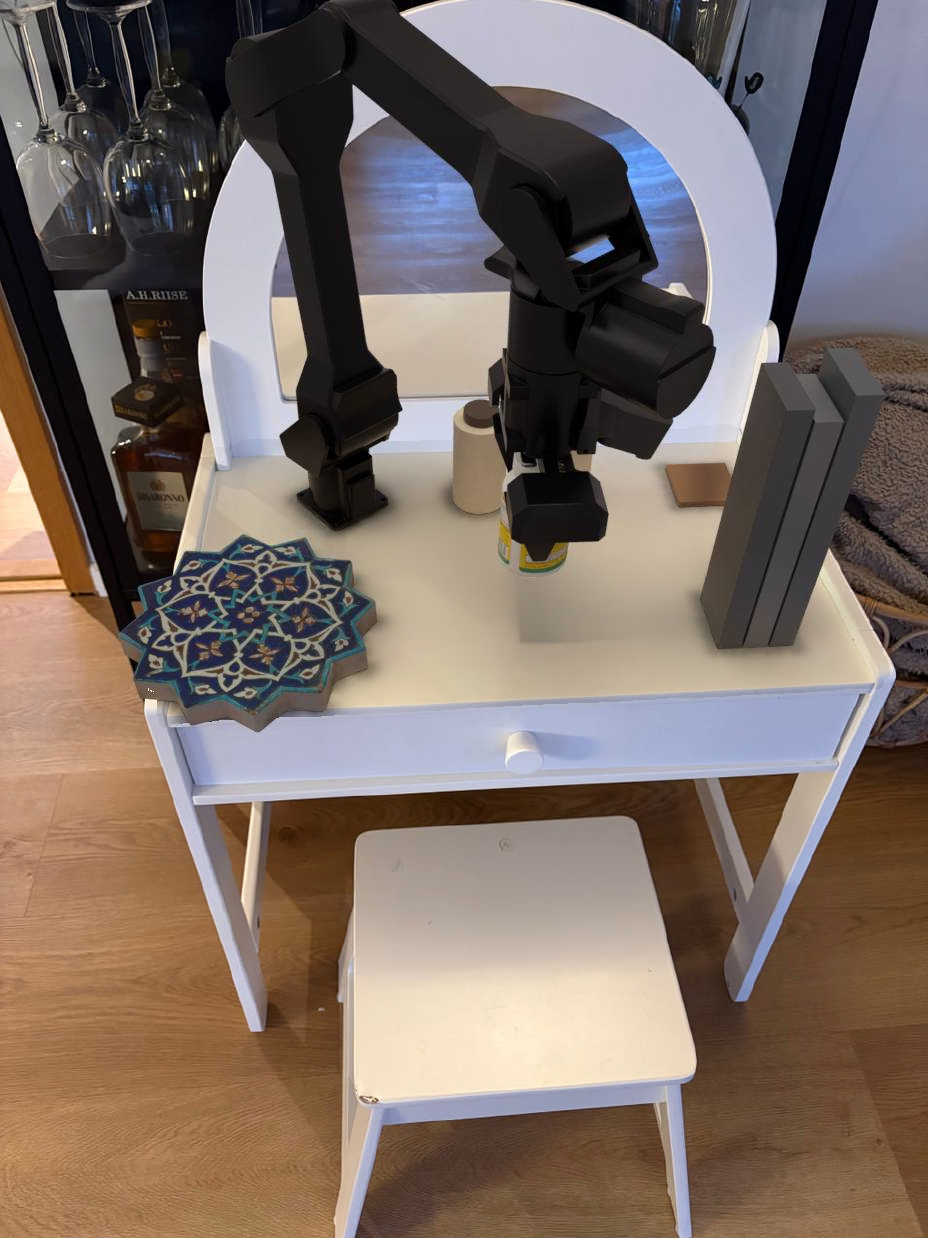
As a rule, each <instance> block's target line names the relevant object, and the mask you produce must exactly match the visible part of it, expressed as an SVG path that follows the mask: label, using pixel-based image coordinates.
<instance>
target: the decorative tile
mask: <svg viewBox="0 0 928 1238" xmlns="http://www.w3.org/2000/svg"><path fill="white" fill-rule="evenodd" d="M354 583H355V578H354V569H353V561H352V560H349V559H341V558H339V559H338V558H329V557H317V556H316V553H315V552H314V550H313V547H312V546H311V544H310V542H309V540H308V538H307V537H301V538H297V539H293V540H289V541H284V542H281V543H277V544H274V545H273V544H272V545H269V544H267V543H265V542H263V541H261V540H258V539H256V538H254V537H252V536H249V535H247V534H245V533H243V534H241V535H239V536H238V537H236V538H235V539H234V540H233V541H231V542H230V543H229V544H228V545H226V546H225V547H223V548H222V549H221V550H219V551H206V550H205V551H203V550H185V551H183V553H182V555H181V557H180V560H179V562H178V565H177V566H176V568H175V571H174V573H173V575H170V576H168V577H163V578H161V579H157V580H154V581H151V582H148V583H144V584H142V585H139V586H138V587H137V591H138V594H139V597H140V602H141V604H142V605H141V606H142V607H143V612H142V613H140V614H139V615H138V616H137V617H136V618H135V619H133V620H132V621H131V622H130V623H129V624H128V625H127V626H125V627H124V628H123V629H121V631H119V632H118V634H117V637H118V640H119V643H120V646H121V648H122V651H123V654H124V656H126V657H128V658H130V660H133V661H134V662H136V663H137V666H136V669H135V671H134V674H133V676H132V680H133V683H134V686H135V689H136V691H137V694H138V696H139V699H142V700H153V701H162V702H163V701H164V702H173V703H174V702H175V703H177V704H178V706H179V707H180V710H181V712H182V714H183V715H184V717H185V719H186V721H187V723H188V725H189V726H191V727H194V726H198V725H201V724H206V723H209V722H212V721H216V720H219V719H223V718H229V719H230V720H233V721H235V722H236V723H238V724H240V725H242V726H243V727H246V728H248V729H249V730H251V731H253V732H254V733H261V732H262V731H264V730H265V729H266V728H267V727H268V726H269V725H271V724H273V722H274V721H275V720H277V719H278V718H279V717H280V716H281V715H282V714H284V713H285V712H286V711H289V710H291V711H293V710H294V711H313V712H324V711H325V710H327V707H328V704H329V701H330V698H331V695H332V692H333V689H334V687H335V683H336V681H338V680H340V679H342V678H345V677H347V676H350V675H352V674H354V673H357V672H360V671H362V670H365V669H367V668H368V667H369V664H368V653H367V646H366V644H365V642H364V641H363V638H362V637H363V636H364V634H366V633H367V632H368V631H369V630H370V629H371V627H372V626H374V625H375V624H376V623H377V621H378V617H377V616H378V614H377V603H376V600H375V599H374V598H372V597H370V596H368V595H367V594H364V593H362V592H360V591H358V590H356V589H355V588H354ZM148 688H149V691H148ZM150 690H152V692H151V691H150ZM153 691H154V692H153Z"/></svg>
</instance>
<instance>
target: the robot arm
mask: <svg viewBox="0 0 928 1238" xmlns="http://www.w3.org/2000/svg"><path fill="white" fill-rule="evenodd" d="M224 78H225V79H224V80H225V88H226V91H227V94H228V97H229V99H230V101H231V103H232V105H233V109H234V111H235V115H236V118H237V122H238V126H239V129H240V133H241V134H242V135H241V136H242V137H243V138H244V140H245V141H246V142H247V143H248V144H249V146H250V147H251V148H252V149H253V151H254V152H255V153H256V154H257V156H259V158H260V159H261V160H262V162H264V164H265V166H267V167H268V169H269V170H270V172H271V175H272V180H273V185H274V188H275V194H276V198H277V204H278V209H279V214H280V220H281V225H282V231H283V236H284V241H285V245H286V251H287V256H288V261H289V265H290V272H291V277H292V283H293V286H294V291H295V297H296V301H297V302H296V303H297V306H298V312H299V317H300V324H301V326H302V331H303V332H302V333H303V337H304V343H305V348H306V359H305V361H304V364H303V367H302V370H301V372H300V376H299V379H298V382H297V384H296V387H295V399H296V409H297V420H296V421H294V422H293V423H292V424H291V425H289V427H287V428H286V429H284V430H283V431H282V432H281V433H279V435H278V436H279V440H280V443H281V446H282V449H283V451H284V454H285V457H286V458H287V459H289V460H291V461H292V462H293V463H295V464H296V465H298V466H300V468H302V469H304V470H305V471H307V478H308V485H309V487H307V488H305V489H303V490H301V491H299V492H297V493H296V500H297V501H298V502H299V503H300V504H301V505H302V506H304V507H305V508H306V509H307V510H308V511H309V512H311V513H312V514H313V515H315V517H317V519H319V520H320V521H321V522H322V523H324V524H325V525H326V526H327V527H328V528H329V529H331V530H333V531H339V530H341V529H343V528H345V527H347V526H349V525H351V524H353V523H355V522H357V521H359V520H361V519H362V518H365V517H366V516H369V515H371V514H372V513H375V512H377V511H378V510H380V509H383V508H384V507H387V506H388V505H389V498H388V496H386V495H385V494H384V493H382V492H381V491H380V490H379V489H377V488H376V478H375V477H376V475H375V474H374V463H373V455H372V454H371V453H370V449H372V448H374V447H375V446H377V445H379V444H380V443H382V442H383V443H385V442H387V441H388V440H389V439H390V436H391V433H392V431H393V430H394V429H395V428H396V427H397V426H399V425H398V423H399V419H400V413H401V412H403V411H404V409H403V406H402V404H401V401H400V397H399V391H398V375H397V374H396V372H395V371H394V370H393V369H392V368H388V367H385V366H384V365H383V364H382V363H381V362H380V361H379V359H378V358H377V357H376V356H375V355H374V354H373V353H372V352H371V350H370V349H369V345H368V342H367V337H366V331H365V323H364V316H363V311H362V304H361V298H360V291H359V283H358V278H357V271H356V263H355V257H354V252H353V251H354V250H353V245H352V238H351V233H350V226H349V219H348V213H347V212H348V211H347V208H346V207H347V206H346V199H345V193H344V186H343V180H342V172H341V161H342V158H343V155H344V152H345V148H346V145H347V143H348V140H349V136H350V134H351V130H352V128H353V125H354V121H355V113H354V112H355V110H354V109H355V108H354V87H355V88H356V89H358V90H359V91H360V92H361V93H362V94H364V96H366V97H367V98H369V99H370V100H371V101H372V102H373V103H375V105H377V107H379V108H380V109H382V110H383V112H385V113H387V114H388V115H389V116H390V117H391V118H393V119H394V120H395V121H396V122H397V123H398V124H399V125H401V127H403V128H404V129H405V130H407V132H410V134H411V135H412V136H414V137H415V138H416V139H417V140H418V141H419V142H420V143H422V144H423V145H424V146H425V147H427V148H428V149H429V150H430V151H432V152H433V153H434V154H435V155H436V156H438V157H439V158H440V159H441V160H442V161H443V162H445V163H446V164H447V165H448V166H449V167H451V168H452V169H453V170H454V171H456V172H457V173H458V174H459V175H460V177H462V178H463V179H464V181H466V182H467V184H468V185H469V186H470V187H471V190H472V194H473V197H474V201H475V205H476V209H477V212H478V215H479V217H480V219H481V220H482V222H483V223H484V224H485V225H486V226H487V227H488V228H489V229H490V230H491V232H492V233H493V234H494V235H495V236H496V237H497V238H498V240H499V241H500V242H501V243H502V246H501V247H500V248H499V249H498V250H497V251H496V252H494V253H492V254H491V255H489V256H487V257H485V259H484V260H483V266H484V269H485V270H487V271H489V272H491V273H492V274H495V275H497V276H499V277H502V278H504V279H506V280H507V281H509V283H510V284H509V299H508V300H509V301H508V303H509V304H508V319H507V321H508V322H507V342H506V347H502V353H501V357H500V358H499V359H498V360H497V361H495V362H494V363H493V364H492V365H491V366H489V368H487V395H488V400H489V403H490V408H498V407H499V408H500V412H499V413H495V414H494V415H493V416H492V422H493V428H494V435H495V438H496V441H497V444H498V447H499V449H500V452H501V455H502V457H503V460H504V462H505V465H506V471H507V474H508V473H509V472H510V471H511V470H512V469H513V459H514V453H516V452H519V453H520V459H521V464H522V467H525V468H531V467H536V466H537V462H536V458H537V461H538V466H539V471H540V472H537V473H521V474H520V475H518V476H517V477H516V478H515V479H513V480H512V481H511V482H510V483H508V484H507V491H505V492H504V498H505V505H506V511H507V517H508V523H509V530H510V536H511V539H512V540H514V541H516V542H517V543H519V544H524V546H525V548H526V550H527V552H528V554H529V556H530V558H531V560H532V561H534V562H538V561H546V560H547V559H548V557H549V555H550V553H551V551H552V549H553V547H554V546H555V544H556V543H568V544H569V543H571V544H572V543H595V542H600V541H601V540H602V539H603V538H605V537H606V535H607V528H608V521H609V515H610V513H609V509H608V506H607V501H606V499H605V495H604V491H603V487H602V484H601V481H600V480H599V479H598V478H597V477H596V476H594V475H593V474H592V473H591V471H590V472H589V471H580V470H577V469H575V466H574V462H573V458H572V454H571V451H576V452H577V454H578V455H590V454H593V455H596V453H597V445H598V444H600V445H602V446H604V447H607V448H610V449H614V450H617V451H621V452H625V453H627V454H631V455H634V456H635V457H636V459H639V460H643V461H648V460H651V459H652V458H653V456H654V455H655V453H656V452H657V450H658V448H659V447H660V445H661V443H662V441H663V440H664V438H665V436H666V435H667V433H668V432H669V430H670V429H671V427H672V425H673V424H674V418H677V417H678V416H680V415H682V413H683V412H685V411H686V410H687V409H688V408H689V407H690V406H691V404H692V403H693V402H694V401H695V400H696V398H697V397H698V395H699V394H700V392H701V390H702V389H703V387H704V386H705V383H706V381H707V380H708V378H709V375H710V373H711V371H712V368H713V364H714V362H715V358H716V353H717V346H716V345H715V339H714V338H715V337H714V336H715V335H714V333H713V329H712V328H711V327H710V326H709V325H708V324H707V323H704V322H703V321H704V316H705V311H706V305H705V304H704V302H701V301H699V300H697V299H695V298H692V297H689V296H687V295H680V294H676V293H671V292H670V291H667V290H665V289H663V288H661V287H657V286H655V285H653V284H652V283H648V282H646V281H645V280H644V281H643V279H644V278H643V277H644V276H646V275H648V274H649V273H651V272H653V271H655V270H657V269H658V268H659V265H660V264H659V260H658V259H659V258H658V257H657V254H656V252H655V249H654V246H653V243H652V241H651V235H650V233H649V231H648V230H647V227H646V224H645V222H644V219H643V217H642V214H641V211H640V209H639V206H638V202H637V200H636V198H635V195H634V192H633V190H632V186H631V184H630V182H629V181H630V180H629V176H628V171H629V166H628V164H627V162H626V160H625V158H624V156H623V155H622V153H621V152H619V150H618V149H617V148H616V147H615V146H614V145H613V144H612V143H610V142H609V141H607V140H605V139H603V138H601V137H599V136H598V135H595V134H593V133H591V132H589V131H587V130H585V129H584V128H582V127H580V126H577V125H575V124H574V123H572V122H569V121H566V120H564V119H563V120H562V119H558V118H555V117H554V118H553V117H548V116H544V115H539V114H535V113H531V112H528V111H526V110H524V109H523V108H520V106H516V105H515V104H513V103H512V102H511V101H510V100H508V99H507V98H506V97H505V96H504V95H502V94H501V93H499V91H497V90H496V89H495V88H493V87H492V86H491V85H490V84H488V83H487V82H486V81H485V80H483V79H482V78H481V77H479V76H478V75H477V74H476V73H474V72H473V71H472V70H470V69H469V68H468V67H467V66H466V65H464V64H463V63H462V62H461V61H459V60H458V59H457V58H456V57H455V56H453V55H452V54H450V53H449V52H448V51H447V50H445V48H443V47H442V46H440V45H439V44H438V43H436V42H435V41H434V40H433V39H432V38H430V37H429V36H428V35H426V34H425V33H424V32H423V31H421V30H420V29H419V28H418V27H417V26H415V24H413V23H412V22H410V21H409V20H407V18H405V16H403V15H401V12H400V11H399V8H398V6H397V5H396V3H395V1H393V0H330V1H326V2H323V4H321V5H320V6H319V7H318V9H315V10H314V11H313V12H311V13H309V14H308V15H307V16H305V17H303V18H302V19H301V20H298V21H297V22H294V23H293V24H291V25H288V26H287V27H284V28H279V29H275V30H271V31H267V32H263V33H259V34H258V33H257V34H255V35H254V34H253V35H250V36H246V37H242V38H238V39H237V41H236V42H235V43H234V44H233V46H232V49H231V52H230V56H228V57H227V58H226V60H225V74H224ZM605 240H607V241H609V243H610V245H611V246H612V247H613V249H611V250H609V251H607V252H605V253H603V254H601V255H599V256H597V257H595V258H593V259H590V260H588V261H586V262H583V261H582V260H579V259H577V258H574V257H572V256H574V255H576V254H578V253H581V252H583V251H585V250H587V249H589V248H591V247H593V246H595V245H597V244H599V243H601V242H603V241H605ZM558 464H559V465H558ZM559 468H560V469H559Z"/></svg>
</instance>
